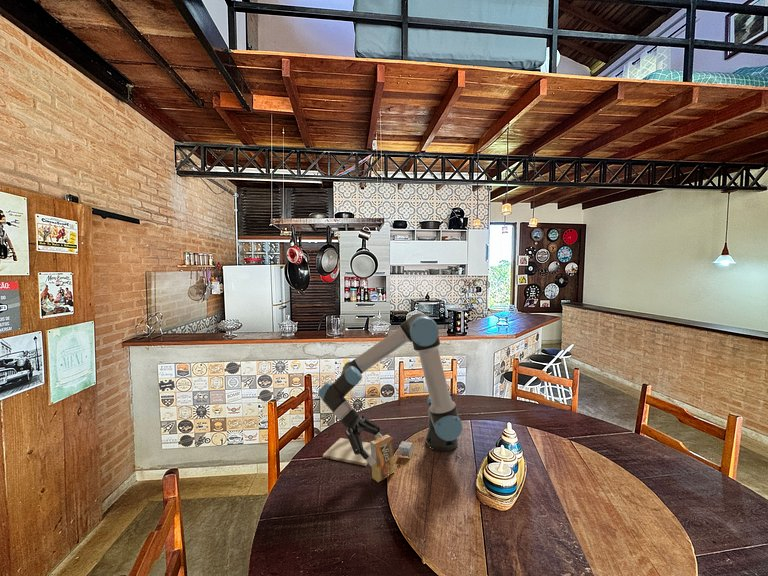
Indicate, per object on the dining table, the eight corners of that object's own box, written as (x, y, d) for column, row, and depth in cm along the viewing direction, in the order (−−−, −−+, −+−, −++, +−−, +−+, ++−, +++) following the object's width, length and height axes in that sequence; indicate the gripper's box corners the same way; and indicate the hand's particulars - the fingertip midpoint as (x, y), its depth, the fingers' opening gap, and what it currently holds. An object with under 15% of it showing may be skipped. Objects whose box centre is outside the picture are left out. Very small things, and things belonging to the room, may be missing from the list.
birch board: (380, 447, 155) (380, 444, 155) (365, 465, 140) (365, 463, 140) (340, 440, 164) (340, 437, 164) (322, 457, 149) (322, 454, 149)
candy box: (388, 469, 137) (386, 433, 137) (395, 473, 134) (393, 437, 133) (371, 478, 132) (369, 441, 131) (378, 483, 128) (376, 445, 128)
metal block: (413, 453, 148) (412, 442, 148) (409, 459, 144) (409, 448, 144) (402, 451, 150) (402, 441, 150) (399, 457, 146) (398, 446, 145)
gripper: (355, 408, 150) (386, 444, 145) (325, 433, 127) (361, 478, 122) (364, 397, 148) (397, 434, 143) (336, 422, 125) (373, 467, 120)
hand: (380, 454), depth 132 cm, fingers open, 13 cm apart
